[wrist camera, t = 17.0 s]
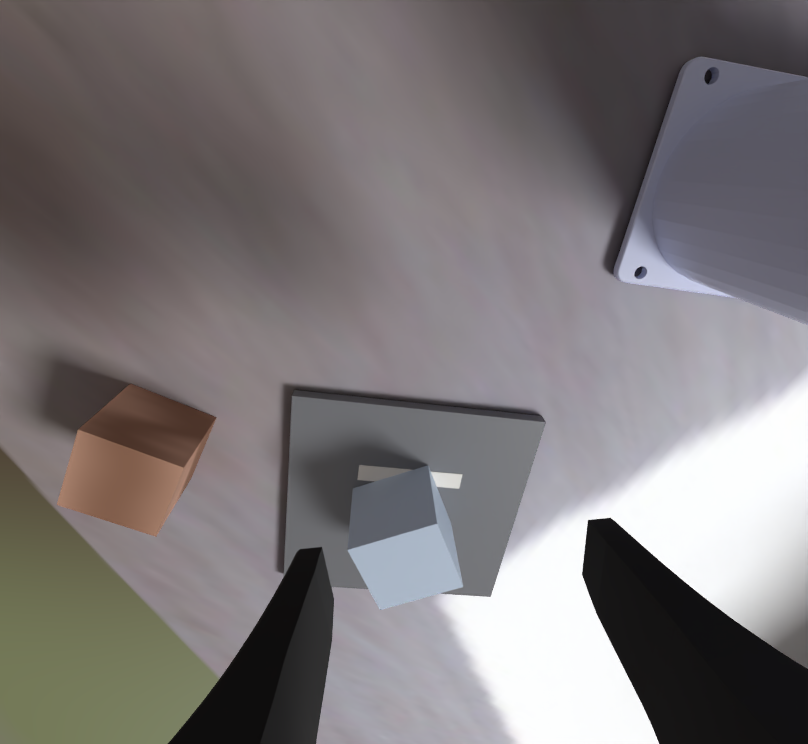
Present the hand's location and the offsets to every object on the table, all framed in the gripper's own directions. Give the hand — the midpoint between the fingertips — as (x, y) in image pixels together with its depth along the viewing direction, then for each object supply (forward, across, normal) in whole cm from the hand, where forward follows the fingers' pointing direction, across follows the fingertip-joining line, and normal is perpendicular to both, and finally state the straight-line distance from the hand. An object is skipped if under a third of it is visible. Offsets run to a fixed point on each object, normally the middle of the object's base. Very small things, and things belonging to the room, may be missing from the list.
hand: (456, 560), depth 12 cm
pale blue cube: (+9, +2, +6) cm, 11 cm away
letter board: (+10, +2, +6) cm, 12 cm away
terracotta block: (+10, +13, +1) cm, 16 cm away
